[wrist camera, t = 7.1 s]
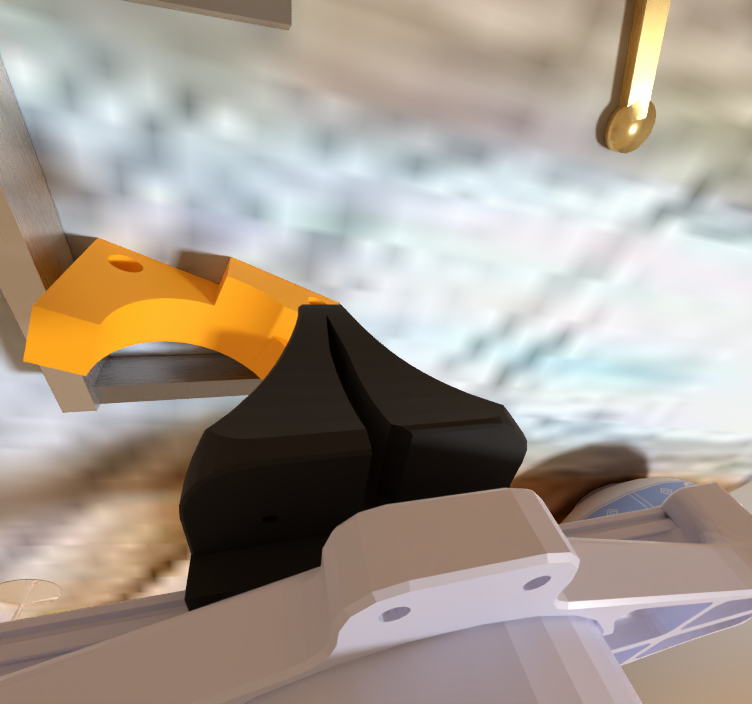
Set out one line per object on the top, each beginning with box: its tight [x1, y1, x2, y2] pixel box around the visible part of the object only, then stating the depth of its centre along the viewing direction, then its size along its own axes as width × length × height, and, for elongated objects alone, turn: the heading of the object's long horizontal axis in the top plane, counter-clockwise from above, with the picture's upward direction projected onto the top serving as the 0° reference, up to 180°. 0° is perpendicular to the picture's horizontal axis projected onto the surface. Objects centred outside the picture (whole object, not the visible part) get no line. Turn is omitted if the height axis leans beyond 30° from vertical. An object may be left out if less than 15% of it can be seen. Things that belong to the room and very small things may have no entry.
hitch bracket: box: [0, 0, 291, 413], centre depth 17 cm, size 18×12×3 cm, turn 173°
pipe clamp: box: [23, 238, 340, 381], centre depth 18 cm, size 12×4×6 cm, turn 58°
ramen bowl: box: [561, 477, 743, 524], centre depth 45 cm, size 25×23×8 cm
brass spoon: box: [604, 0, 671, 153], centre depth 19 cm, size 6×2×1 cm, turn 13°
